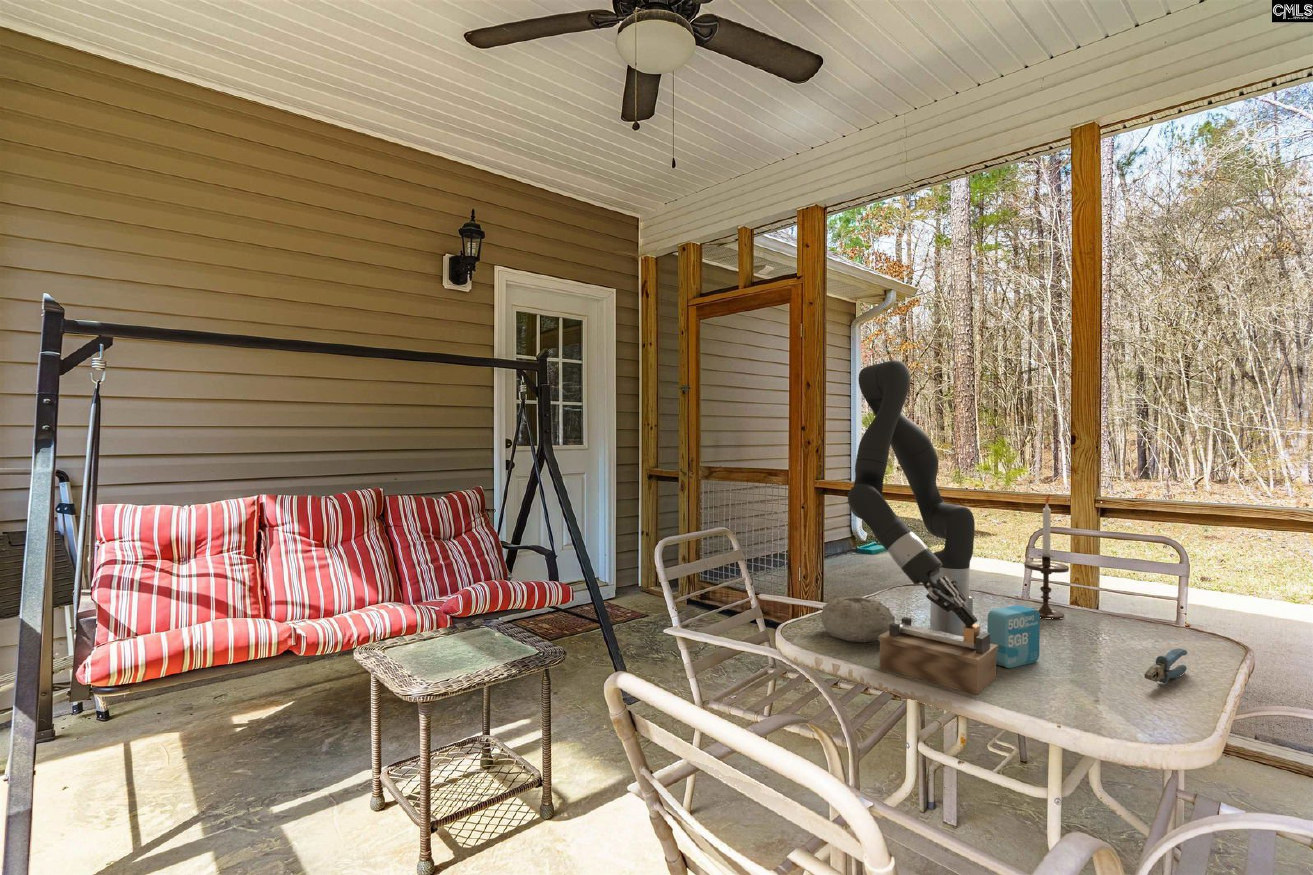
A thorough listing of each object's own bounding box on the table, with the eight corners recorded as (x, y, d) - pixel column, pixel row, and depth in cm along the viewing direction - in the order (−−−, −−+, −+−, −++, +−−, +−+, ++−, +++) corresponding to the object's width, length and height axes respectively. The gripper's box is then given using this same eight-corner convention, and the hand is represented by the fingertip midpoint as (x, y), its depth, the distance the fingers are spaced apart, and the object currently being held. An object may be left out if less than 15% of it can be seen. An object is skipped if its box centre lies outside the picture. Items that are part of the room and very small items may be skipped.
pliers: (1153, 695, 126) (1153, 665, 126) (1140, 691, 127) (1140, 662, 127) (1189, 674, 137) (1190, 647, 137) (1177, 671, 139) (1178, 644, 138)
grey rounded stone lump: (821, 624, 171) (822, 587, 170) (891, 630, 166) (892, 592, 166) (819, 645, 153) (820, 604, 153) (897, 653, 148) (898, 610, 148)
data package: (1005, 669, 138) (1005, 615, 138) (986, 663, 143) (987, 610, 142) (1039, 661, 144) (1040, 608, 144) (1020, 655, 148) (1021, 604, 148)
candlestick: (1077, 619, 176) (1079, 494, 176) (1044, 621, 174) (1046, 495, 174) (1046, 609, 187) (1047, 491, 187) (1014, 610, 185) (1016, 491, 184)
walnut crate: (877, 667, 139) (878, 621, 139) (901, 653, 148) (902, 610, 148) (978, 695, 125) (978, 643, 125) (997, 677, 134) (998, 629, 134)
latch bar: (893, 632, 141) (893, 613, 141) (901, 628, 144) (901, 609, 144) (973, 649, 129) (973, 629, 129) (979, 645, 132) (980, 625, 132)
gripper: (914, 551, 133) (976, 620, 125) (937, 543, 143) (997, 607, 134) (889, 572, 137) (948, 641, 128) (914, 563, 146) (970, 627, 138)
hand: (973, 624), depth 131 cm, fingers closed
